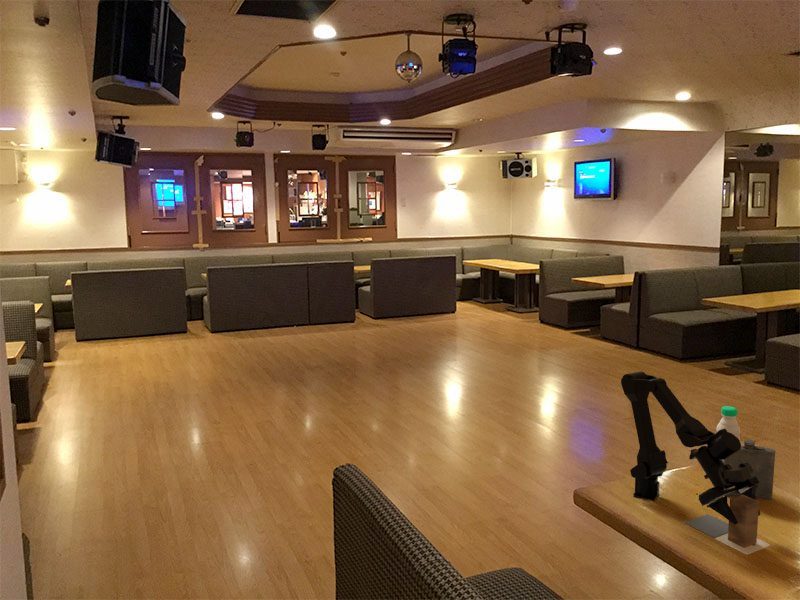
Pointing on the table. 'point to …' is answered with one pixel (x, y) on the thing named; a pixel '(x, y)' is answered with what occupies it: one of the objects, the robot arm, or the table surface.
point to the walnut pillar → (744, 521)
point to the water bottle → (729, 421)
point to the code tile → (747, 550)
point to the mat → (709, 525)
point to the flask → (756, 467)
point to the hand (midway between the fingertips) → (747, 519)
